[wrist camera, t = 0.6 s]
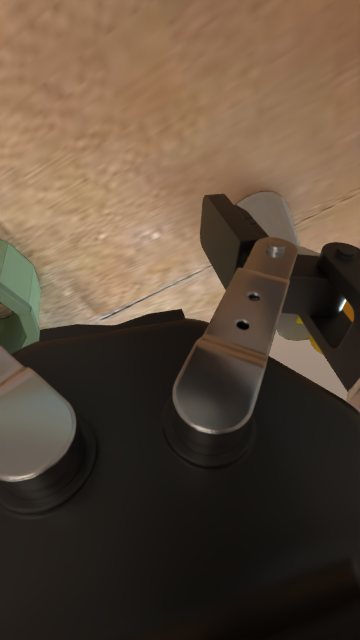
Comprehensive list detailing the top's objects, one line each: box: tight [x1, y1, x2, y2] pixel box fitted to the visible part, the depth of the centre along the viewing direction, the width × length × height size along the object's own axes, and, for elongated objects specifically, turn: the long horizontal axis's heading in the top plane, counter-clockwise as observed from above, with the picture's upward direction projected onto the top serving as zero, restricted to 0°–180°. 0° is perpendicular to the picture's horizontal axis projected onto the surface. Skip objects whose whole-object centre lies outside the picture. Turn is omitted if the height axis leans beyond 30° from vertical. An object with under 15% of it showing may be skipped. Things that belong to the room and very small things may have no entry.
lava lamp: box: [237, 192, 354, 354], centre depth 27 cm, size 9×9×35 cm
